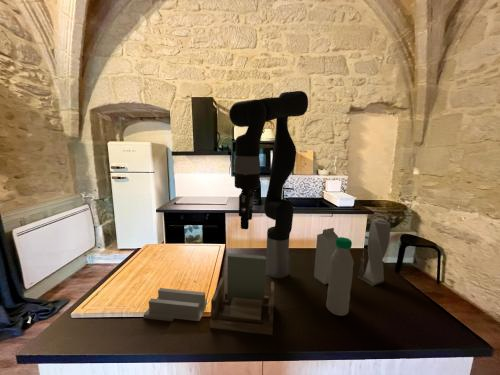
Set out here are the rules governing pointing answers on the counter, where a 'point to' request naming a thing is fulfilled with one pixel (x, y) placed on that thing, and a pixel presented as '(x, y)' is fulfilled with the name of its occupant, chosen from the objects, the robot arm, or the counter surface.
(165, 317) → the grey stand
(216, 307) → the oak rack
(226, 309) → the walnut offcut
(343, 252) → the water bottle
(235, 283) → the sage panel
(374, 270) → the skyscraper
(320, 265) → the milk
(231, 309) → the pine offcut
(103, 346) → the counter surface
